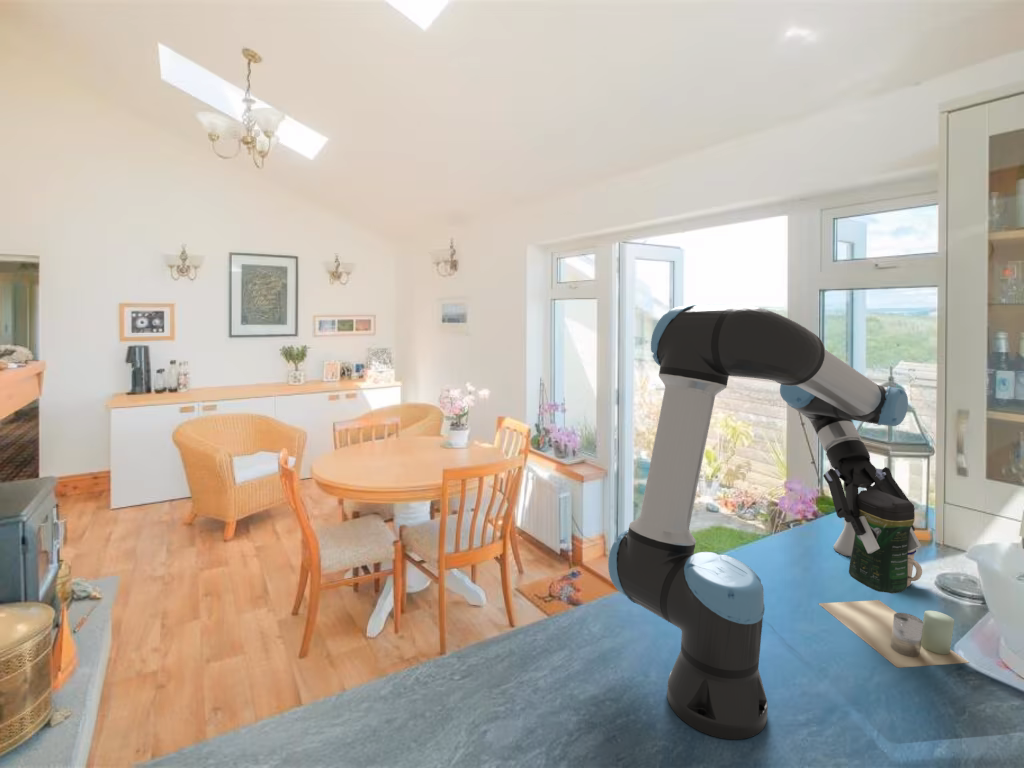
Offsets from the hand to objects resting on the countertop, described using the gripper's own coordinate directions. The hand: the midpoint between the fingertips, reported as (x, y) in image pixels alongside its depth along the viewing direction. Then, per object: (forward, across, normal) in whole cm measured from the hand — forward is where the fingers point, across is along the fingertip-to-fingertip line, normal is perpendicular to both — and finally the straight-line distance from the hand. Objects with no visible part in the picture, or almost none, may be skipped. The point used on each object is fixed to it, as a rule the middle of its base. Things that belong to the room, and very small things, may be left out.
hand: (894, 549), depth 106 cm
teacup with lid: (-1, -18, -26) cm, 32 cm away
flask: (-12, -19, -38) cm, 44 cm away
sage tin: (+16, -4, -6) cm, 18 cm away
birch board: (+13, +1, -12) cm, 18 cm away
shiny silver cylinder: (+16, +2, -6) cm, 18 cm away
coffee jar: (+4, 0, -9) cm, 9 cm away
